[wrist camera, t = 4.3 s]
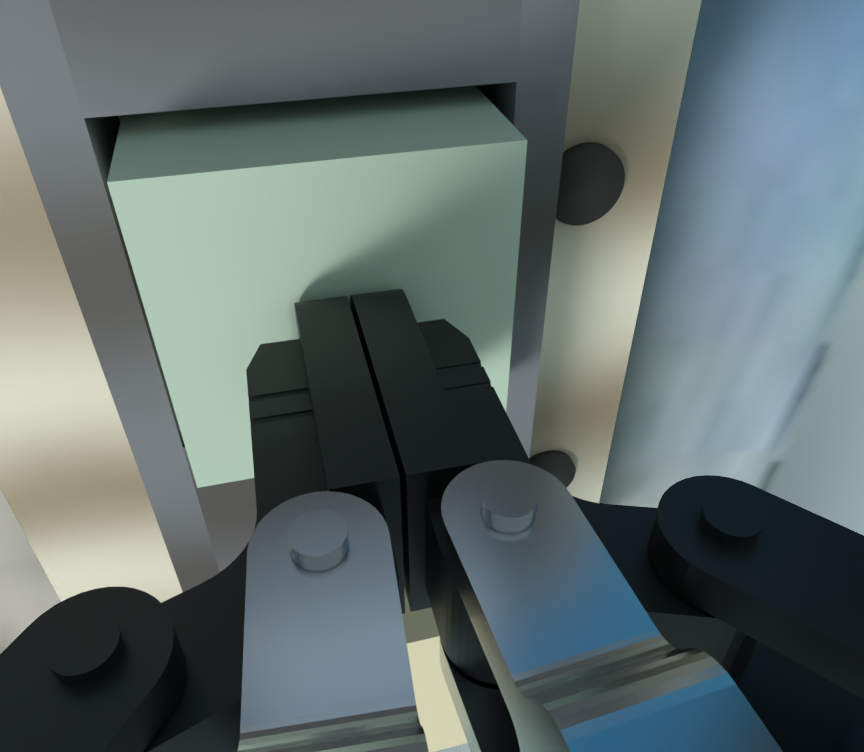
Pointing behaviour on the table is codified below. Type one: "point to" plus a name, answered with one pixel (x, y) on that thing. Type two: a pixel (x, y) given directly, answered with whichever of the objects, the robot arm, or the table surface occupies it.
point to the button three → (430, 681)
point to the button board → (575, 344)
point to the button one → (312, 234)
